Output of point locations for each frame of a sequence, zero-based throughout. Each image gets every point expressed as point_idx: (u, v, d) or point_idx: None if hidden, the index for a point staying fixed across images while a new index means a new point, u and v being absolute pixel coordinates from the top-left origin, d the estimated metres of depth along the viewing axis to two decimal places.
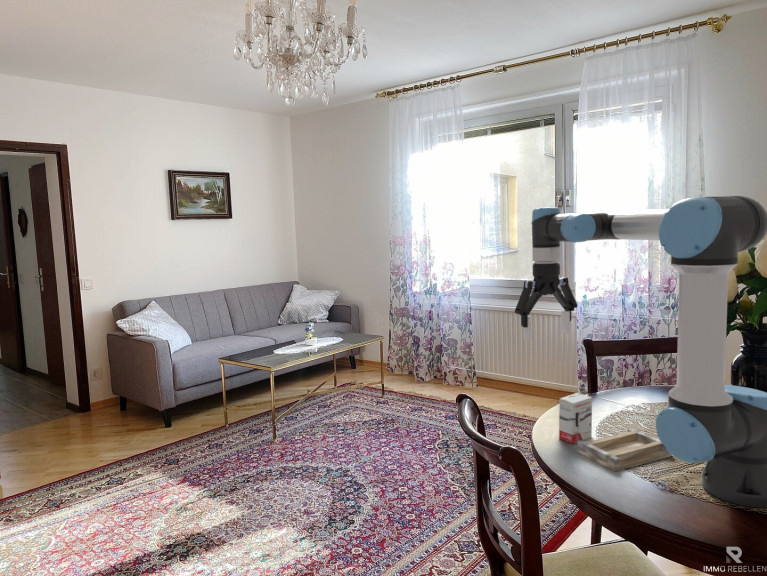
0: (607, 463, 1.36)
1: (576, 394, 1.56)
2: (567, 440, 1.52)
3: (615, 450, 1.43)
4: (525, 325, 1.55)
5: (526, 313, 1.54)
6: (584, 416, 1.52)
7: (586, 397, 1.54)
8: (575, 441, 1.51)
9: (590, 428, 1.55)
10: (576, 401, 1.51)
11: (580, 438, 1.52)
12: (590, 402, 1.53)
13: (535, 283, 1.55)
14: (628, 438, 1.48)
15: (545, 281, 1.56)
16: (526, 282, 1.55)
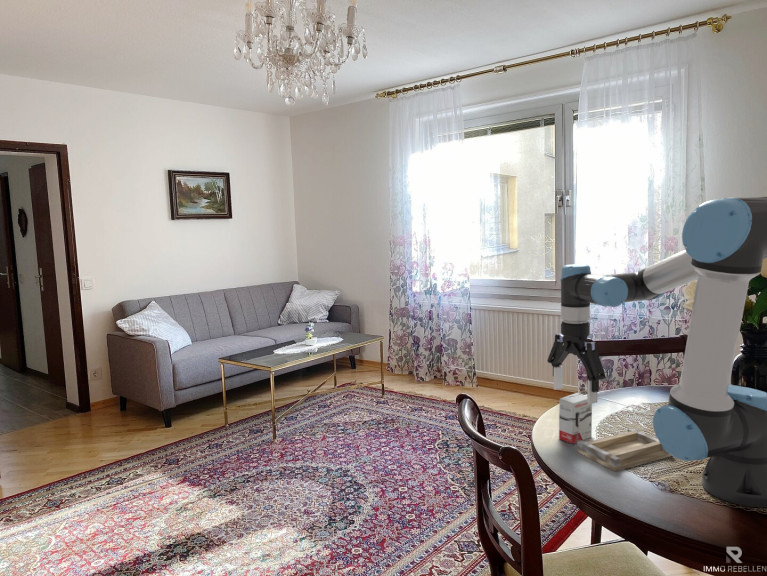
0: (607, 463, 1.36)
1: (576, 394, 1.56)
2: (567, 440, 1.52)
3: (615, 450, 1.43)
4: (553, 374, 1.60)
5: (552, 363, 1.60)
6: (584, 416, 1.52)
7: (586, 397, 1.54)
8: (575, 441, 1.51)
9: (590, 428, 1.55)
10: (576, 401, 1.51)
11: (580, 438, 1.52)
12: None
13: (562, 338, 1.55)
14: (628, 438, 1.48)
15: (569, 339, 1.52)
16: None
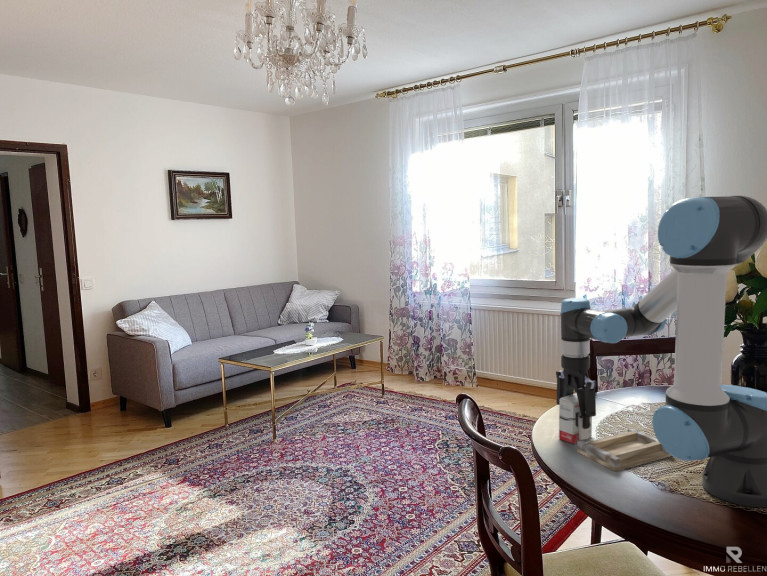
0: (607, 463, 1.36)
1: (576, 394, 1.56)
2: (567, 440, 1.52)
3: (615, 450, 1.43)
4: None
5: None
6: None
7: None
8: (575, 441, 1.51)
9: (590, 428, 1.55)
10: (576, 401, 1.51)
11: None
12: None
13: (563, 372, 1.56)
14: (628, 438, 1.48)
15: (568, 369, 1.53)
16: None
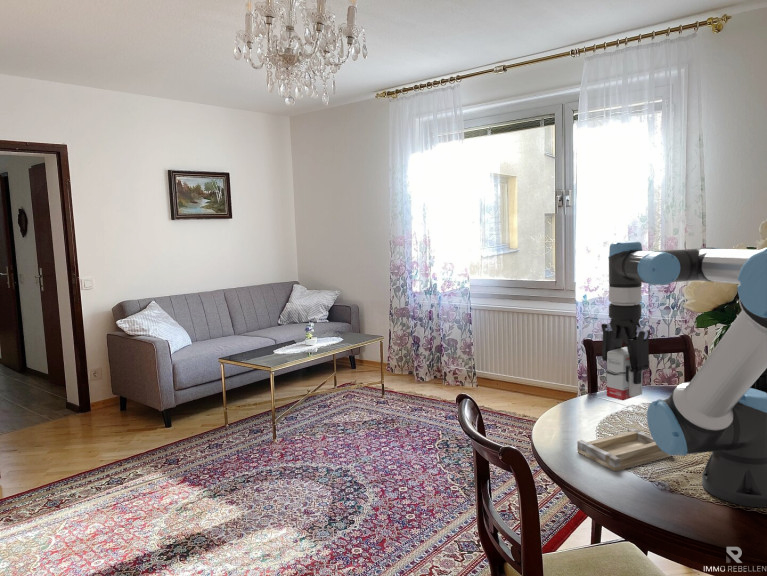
0: (607, 463, 1.36)
1: (624, 348, 1.43)
2: (616, 397, 1.39)
3: (615, 450, 1.43)
4: None
5: None
6: None
7: None
8: (625, 398, 1.38)
9: (641, 384, 1.41)
10: (626, 353, 1.37)
11: None
12: None
13: (610, 324, 1.43)
14: (628, 438, 1.48)
15: (617, 320, 1.40)
16: None
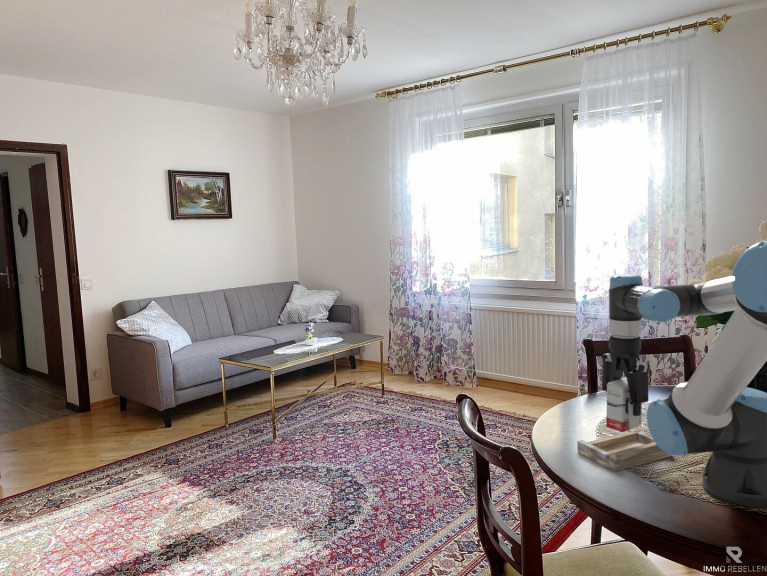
0: (607, 463, 1.36)
1: (624, 378, 1.44)
2: (616, 428, 1.40)
3: (615, 450, 1.43)
4: None
5: None
6: None
7: None
8: (625, 429, 1.39)
9: (640, 415, 1.42)
10: (625, 385, 1.39)
11: None
12: None
13: (610, 355, 1.44)
14: (628, 438, 1.48)
15: (617, 352, 1.41)
16: None
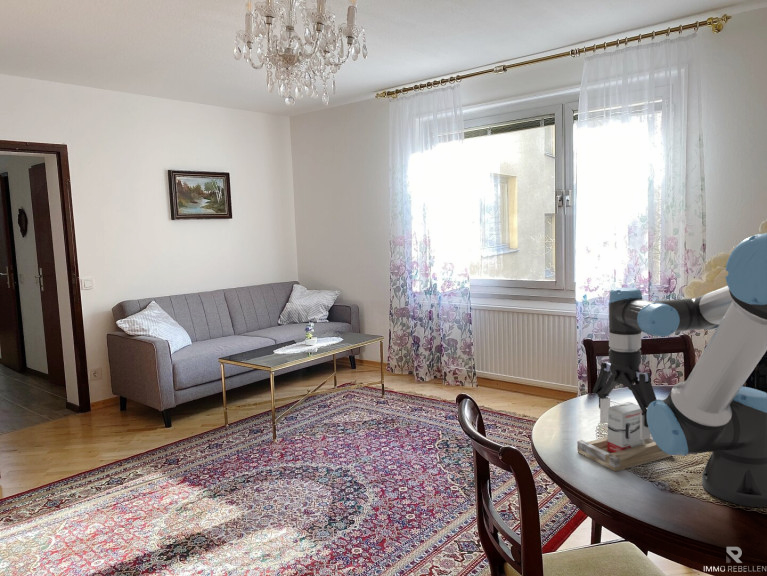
0: (607, 463, 1.36)
1: (627, 403, 1.44)
2: None
3: None
4: (600, 406, 1.49)
5: (598, 394, 1.48)
6: (635, 428, 1.40)
7: (638, 407, 1.41)
8: None
9: (642, 441, 1.42)
10: (626, 411, 1.39)
11: None
12: None
13: (610, 367, 1.44)
14: None
15: (617, 368, 1.41)
16: None
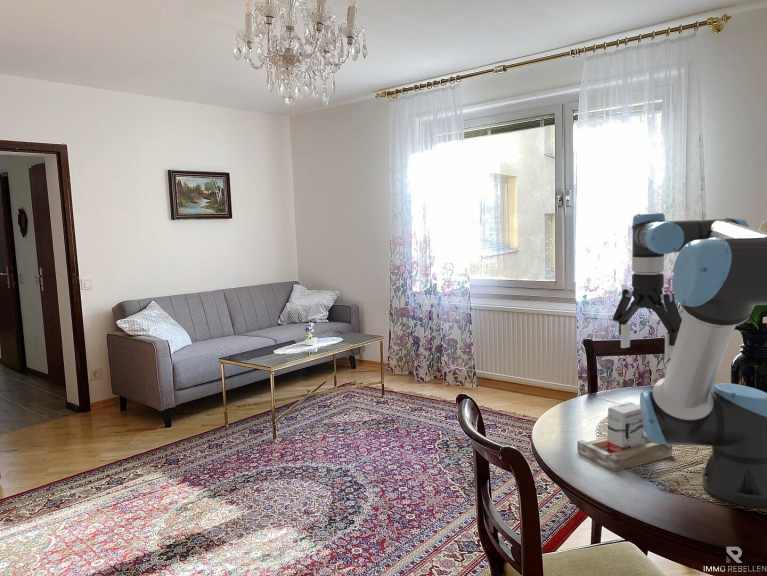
0: (607, 463, 1.36)
1: (627, 403, 1.44)
2: None
3: None
4: (620, 332, 1.52)
5: (619, 320, 1.52)
6: (635, 428, 1.40)
7: (638, 407, 1.41)
8: None
9: (642, 441, 1.42)
10: (626, 411, 1.39)
11: None
12: None
13: (632, 292, 1.48)
14: None
15: (640, 293, 1.45)
16: None
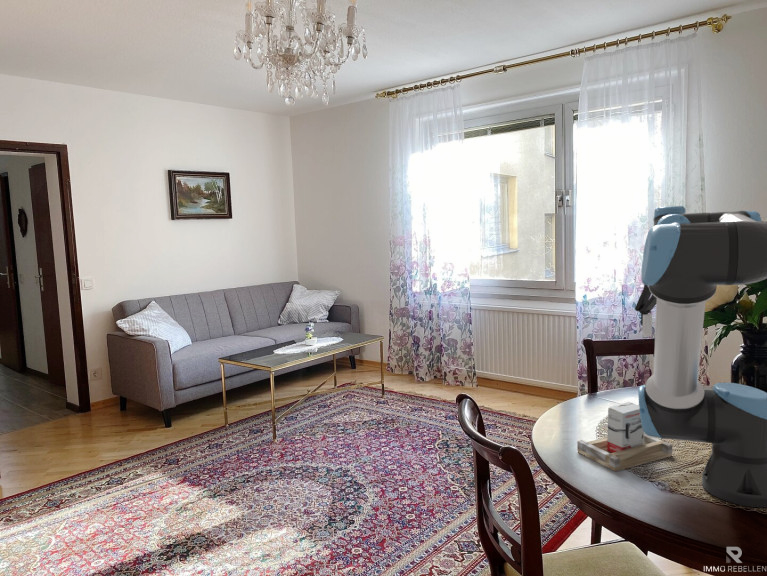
0: (607, 463, 1.36)
1: (627, 403, 1.44)
2: None
3: None
4: (642, 322, 1.58)
5: (641, 311, 1.57)
6: (635, 428, 1.40)
7: (638, 407, 1.41)
8: None
9: (642, 441, 1.42)
10: (626, 411, 1.39)
11: None
12: None
13: None
14: None
15: None
16: None
